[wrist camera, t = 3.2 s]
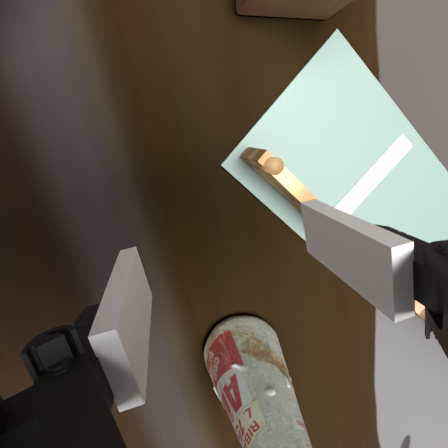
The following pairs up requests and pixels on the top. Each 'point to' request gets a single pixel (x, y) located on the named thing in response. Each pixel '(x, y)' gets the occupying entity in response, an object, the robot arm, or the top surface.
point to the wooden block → (291, 8)
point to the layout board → (347, 149)
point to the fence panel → (277, 176)
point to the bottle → (254, 384)
